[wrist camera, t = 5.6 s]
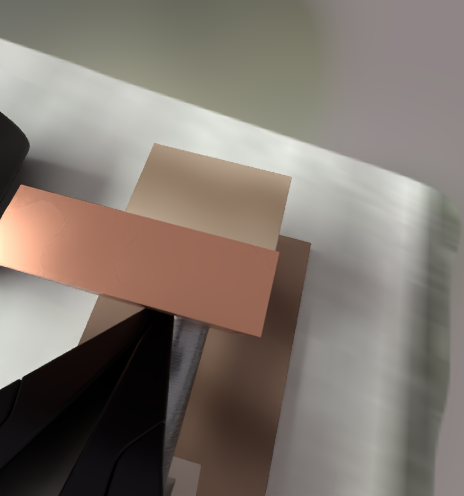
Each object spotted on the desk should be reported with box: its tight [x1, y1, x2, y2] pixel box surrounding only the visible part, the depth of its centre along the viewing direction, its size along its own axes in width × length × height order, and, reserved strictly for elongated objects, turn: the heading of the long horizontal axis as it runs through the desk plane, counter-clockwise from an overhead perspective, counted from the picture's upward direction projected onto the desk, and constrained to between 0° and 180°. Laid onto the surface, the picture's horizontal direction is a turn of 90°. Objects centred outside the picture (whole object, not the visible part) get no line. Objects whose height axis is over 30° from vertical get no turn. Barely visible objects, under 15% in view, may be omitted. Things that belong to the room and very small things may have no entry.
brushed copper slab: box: [0, 185, 279, 488], centre depth 9 cm, size 13×5×10 cm, turn 165°
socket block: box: [125, 143, 292, 251], centre depth 14 cm, size 4×6×7 cm
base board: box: [78, 235, 311, 496], centre depth 15 cm, size 22×12×1 cm, turn 165°
